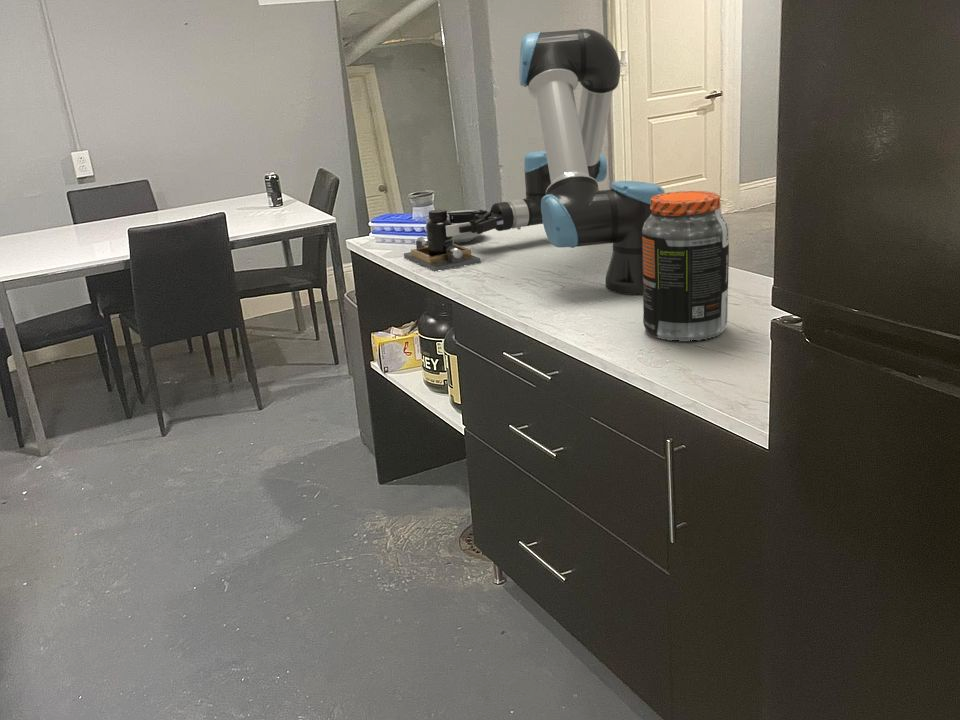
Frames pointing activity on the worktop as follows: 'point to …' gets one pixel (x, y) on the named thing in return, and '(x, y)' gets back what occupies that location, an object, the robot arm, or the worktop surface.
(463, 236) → the cereal bowl
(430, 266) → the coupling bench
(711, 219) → the supplement tub
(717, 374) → the worktop surface
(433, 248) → the supplement bottle
